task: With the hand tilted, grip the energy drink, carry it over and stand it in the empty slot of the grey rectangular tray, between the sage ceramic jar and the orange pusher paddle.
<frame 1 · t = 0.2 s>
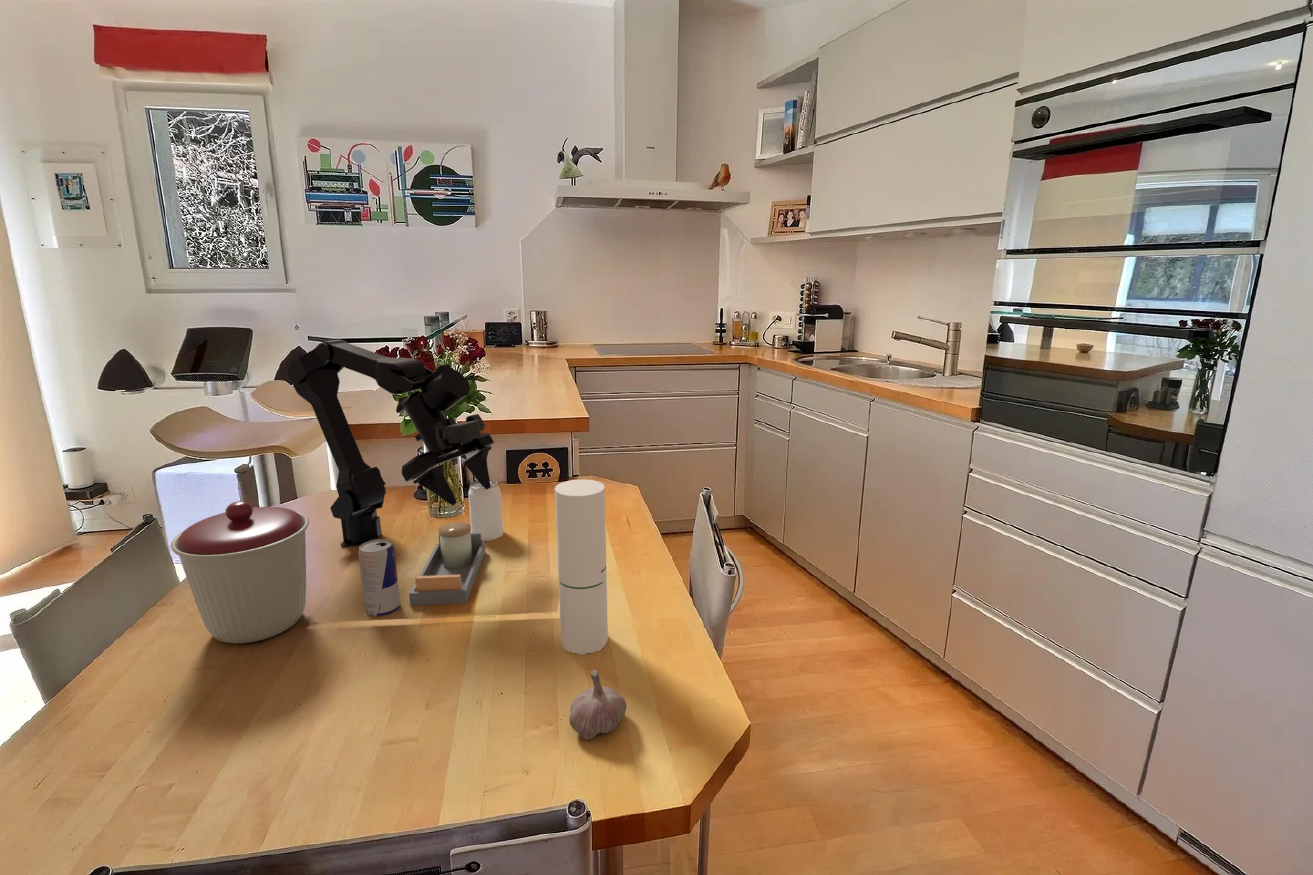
hand: (472, 496, 121), 15 cm above the table, tool tilted 35°, fingers open, 9 cm apart
cylindrical container: (584, 642, 101), on the table
canister: (259, 626, 106), on the table
energy drink: (383, 612, 110), on the table
sage jar: (457, 562, 126), point 1 cm above the table, touching grey rectangular tray
grey rectangular tray: (451, 580, 120), on the table
can: (487, 538, 139), on the table
garlic bulb: (598, 726, 83), on the table
pusher paddle: (439, 587, 111), point 3 cm above the table, slide at 0.0 cm
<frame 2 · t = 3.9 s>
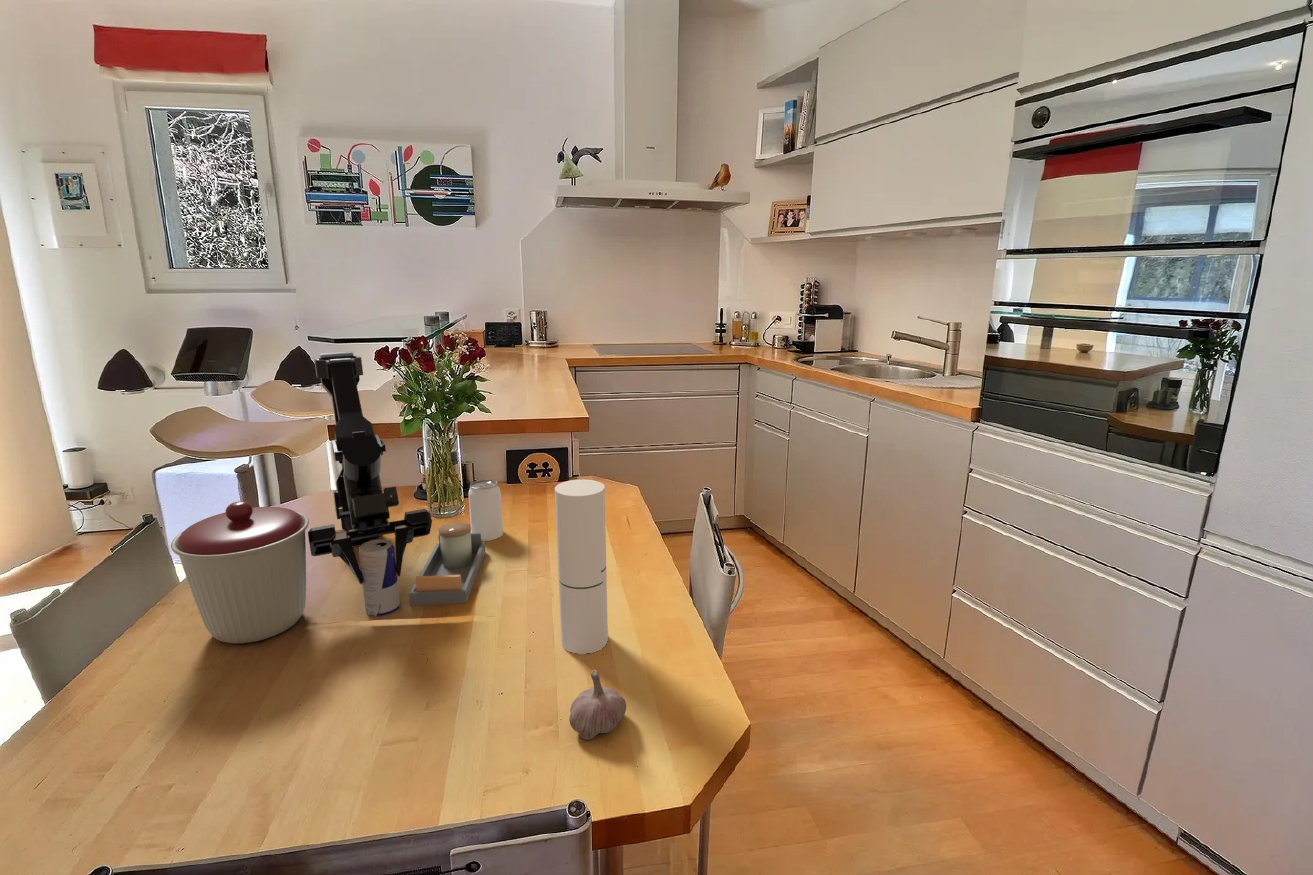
hand: (380, 579, 107), 7 cm above the table, tool tilted 45°, fingers closed on energy drink, 5 cm apart
energy drink: (383, 612, 110), on the table, touching gripper
everything else where it was.
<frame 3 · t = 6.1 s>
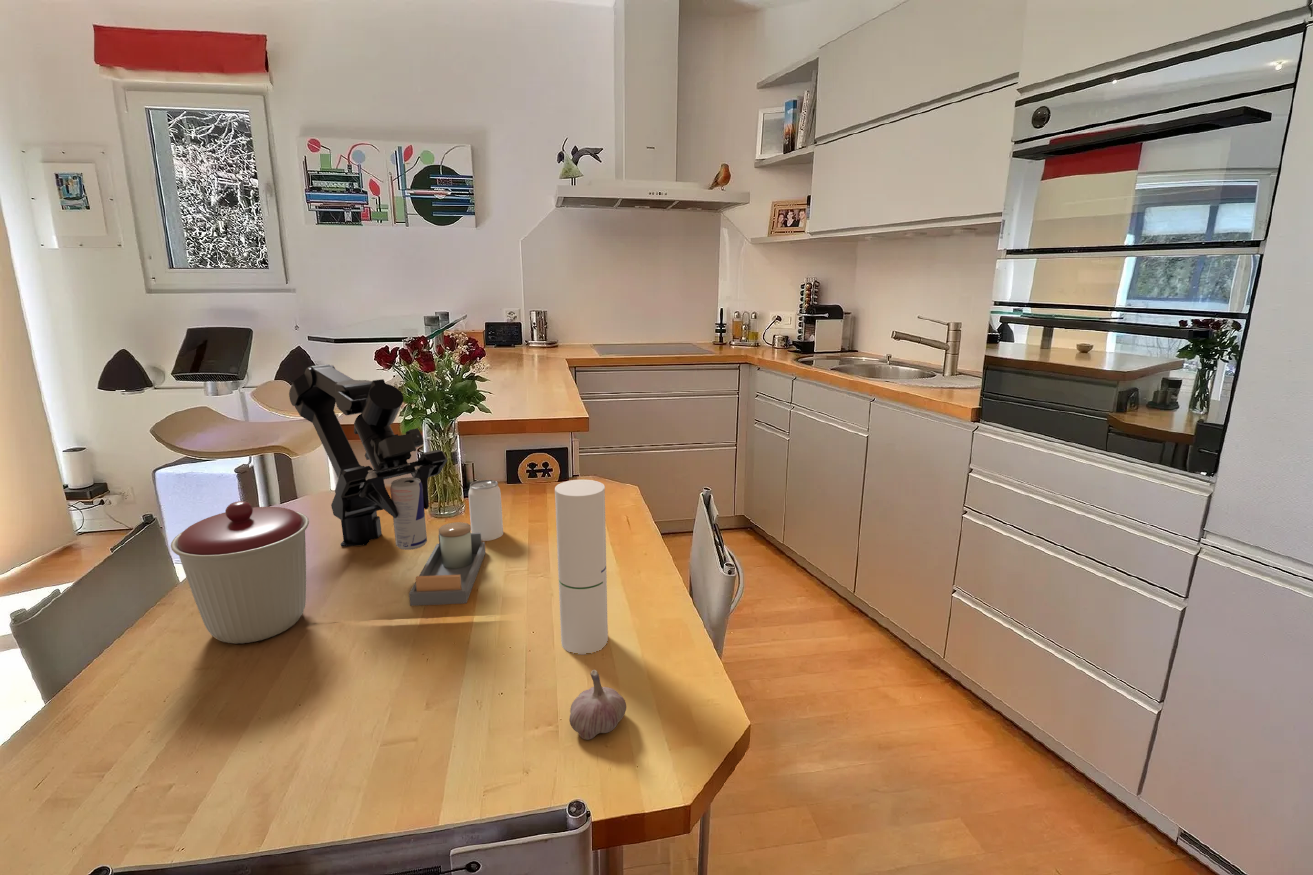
hand: (412, 512, 117), 13 cm above the table, tool tilted 45°, fingers closed on energy drink, 5 cm apart
energy drink: (411, 545, 120), point 6 cm above the table, touching gripper
everything else where it was.
when the fingers open (9 cm above the table, at t = 8.8 s): energy drink drops 1 cm, resting on grey rectangular tray.
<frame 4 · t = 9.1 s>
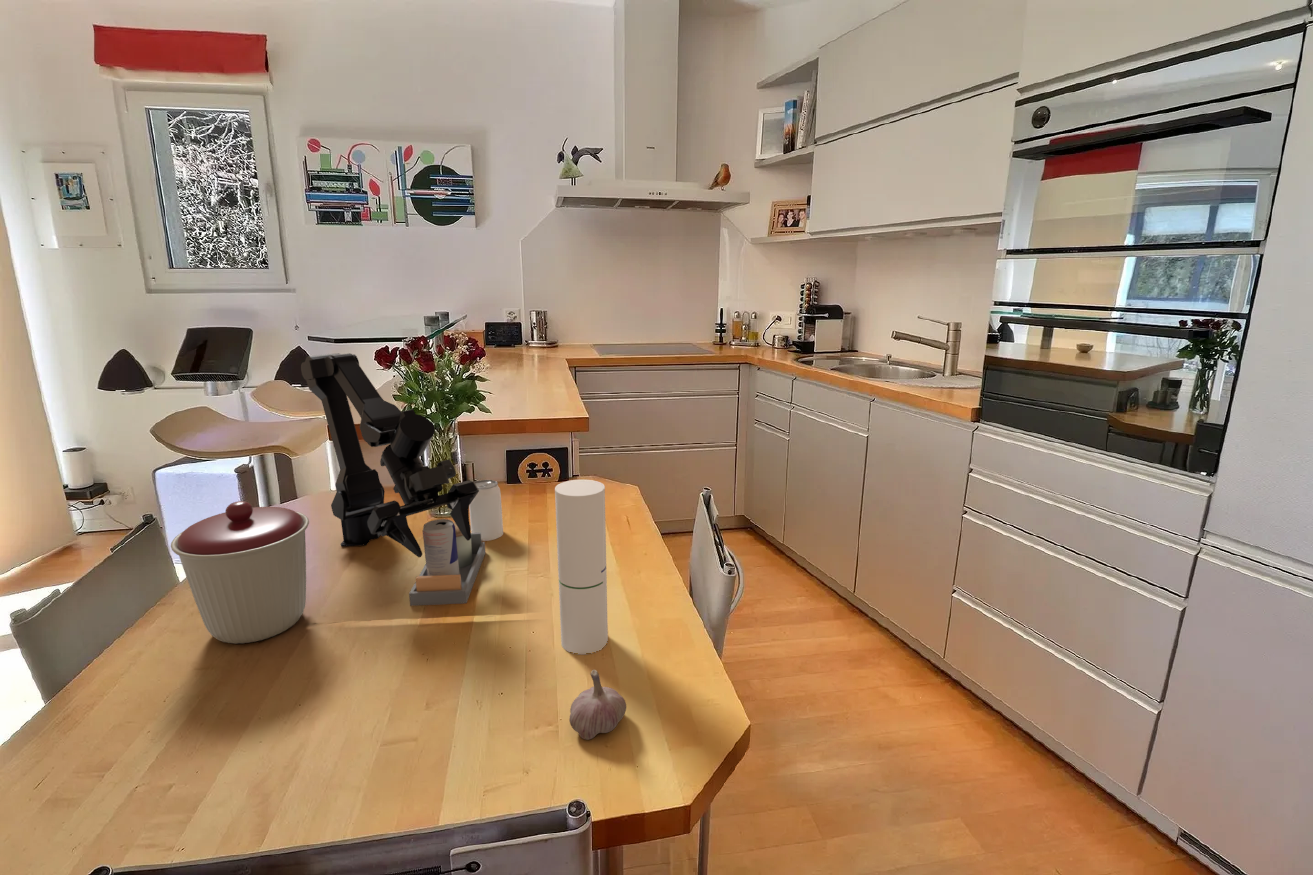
hand: (445, 547, 113), 9 cm above the table, tool tilted 45°, fingers open, 9 cm apart
energy drink: (444, 588, 116), point 1 cm above the table, touching grey rectangular tray
everything else where it was.
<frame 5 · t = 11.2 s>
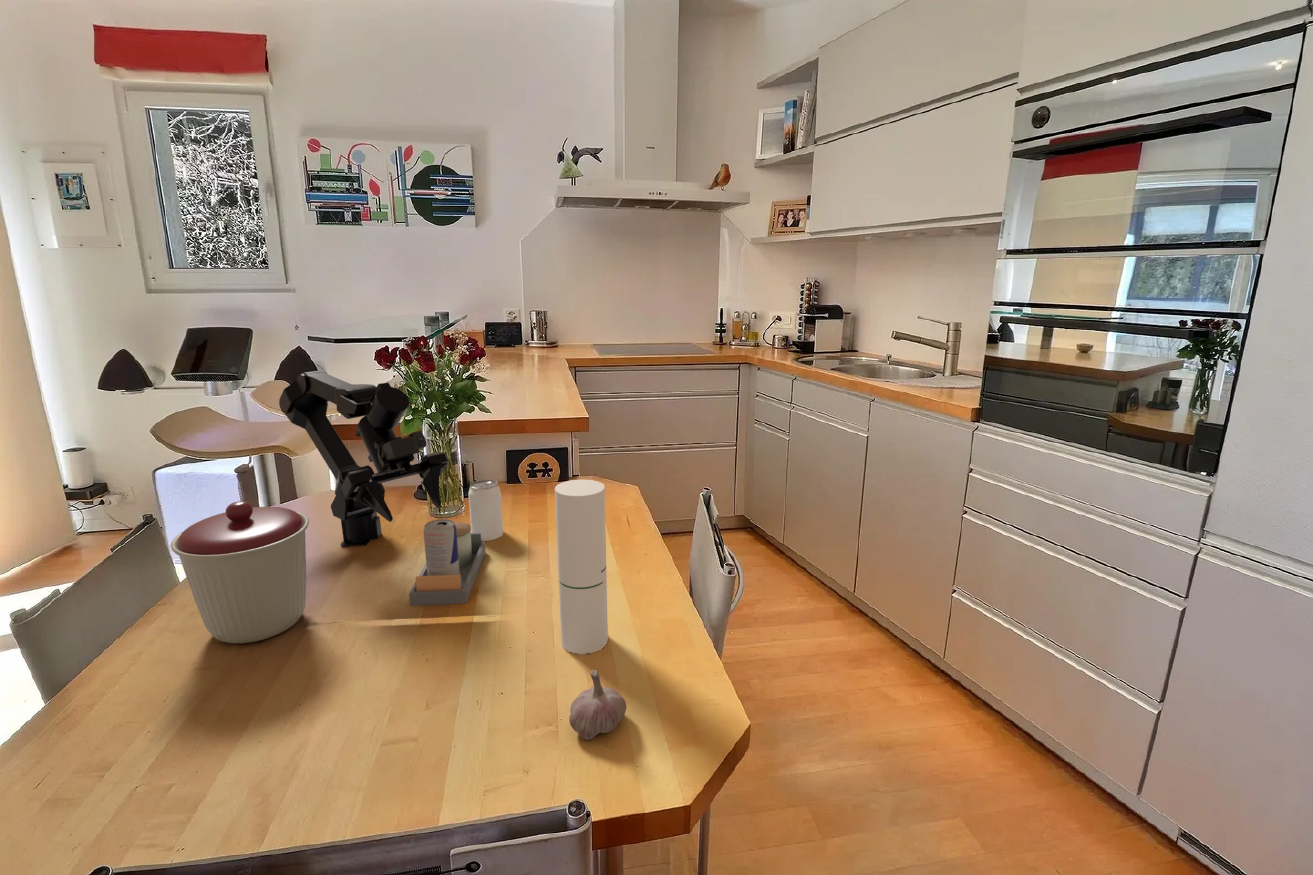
hand: (415, 513, 119), 12 cm above the table, tool tilted 45°, fingers open, 9 cm apart
nothing on the table moved.
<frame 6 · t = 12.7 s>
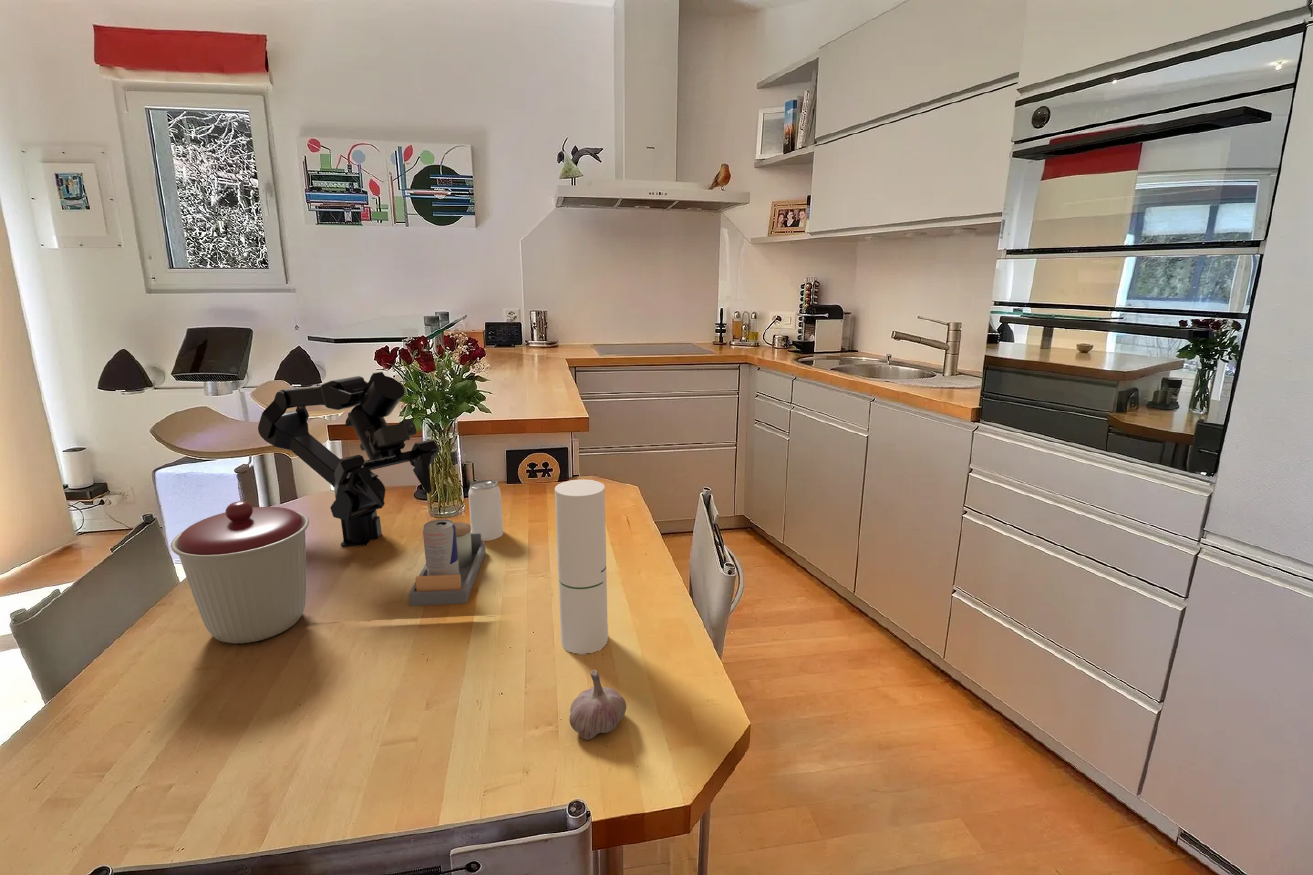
hand: (407, 498, 123), 14 cm above the table, tool tilted 45°, fingers open, 9 cm apart
nothing on the table moved.
at the end: energy drink 0.3 cm from the target spot, point 0.6 cm above the table; energy drink tilted 0°; the gripper is holding nothing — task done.
